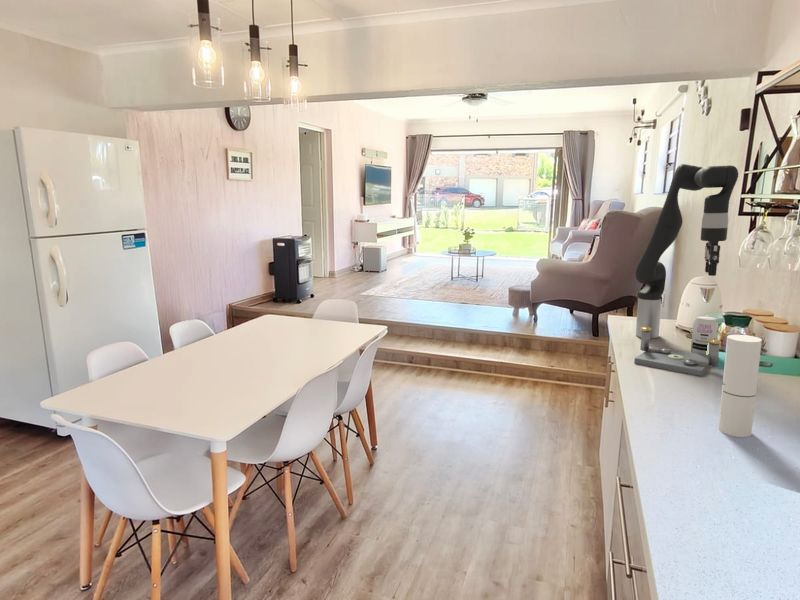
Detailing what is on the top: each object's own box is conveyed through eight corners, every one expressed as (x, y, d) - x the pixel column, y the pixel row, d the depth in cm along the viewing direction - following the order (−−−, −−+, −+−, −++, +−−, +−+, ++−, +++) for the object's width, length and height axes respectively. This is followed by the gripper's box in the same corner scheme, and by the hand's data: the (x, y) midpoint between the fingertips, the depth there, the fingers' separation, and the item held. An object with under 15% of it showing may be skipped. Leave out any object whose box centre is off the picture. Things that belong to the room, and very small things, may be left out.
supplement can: (708, 352, 194) (711, 315, 191) (719, 358, 186) (723, 320, 183) (686, 352, 195) (689, 315, 192) (697, 358, 187) (700, 320, 184)
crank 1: (670, 351, 190) (671, 328, 188) (671, 354, 186) (672, 330, 184) (639, 349, 194) (640, 326, 192) (639, 351, 190) (641, 328, 189)
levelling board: (653, 351, 197) (653, 345, 197) (716, 362, 182) (717, 355, 182) (634, 363, 184) (634, 356, 183) (700, 376, 168) (701, 369, 168)
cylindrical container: (746, 426, 130) (756, 335, 126) (755, 438, 124) (766, 342, 119) (715, 423, 133) (723, 333, 128) (722, 435, 126) (732, 341, 121)
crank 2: (683, 365, 174) (685, 340, 172) (682, 361, 177) (684, 337, 176) (719, 368, 170) (722, 342, 168) (717, 364, 173) (719, 339, 172)
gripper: (731, 227, 159) (726, 277, 162) (724, 225, 171) (720, 271, 174) (704, 227, 162) (699, 276, 165) (699, 225, 174) (695, 271, 177)
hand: (710, 274), depth 170 cm, fingers open, 8 cm apart
